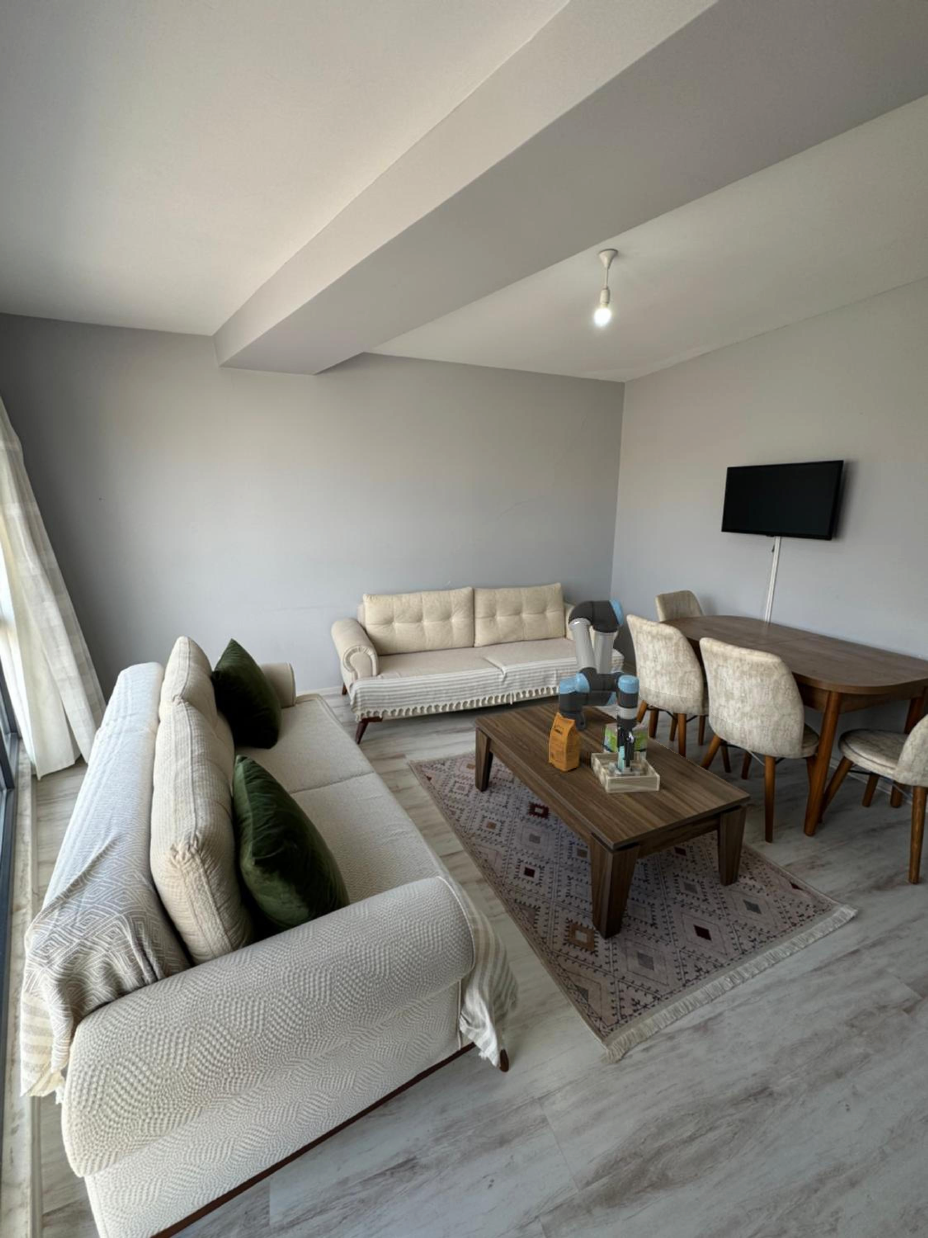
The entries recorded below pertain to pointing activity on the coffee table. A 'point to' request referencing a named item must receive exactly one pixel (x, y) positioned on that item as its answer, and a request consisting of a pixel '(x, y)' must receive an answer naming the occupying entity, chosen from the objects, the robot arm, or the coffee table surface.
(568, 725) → the coffee package
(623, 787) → the open box
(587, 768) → the coffee table surface
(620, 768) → the peg
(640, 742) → the tea box
